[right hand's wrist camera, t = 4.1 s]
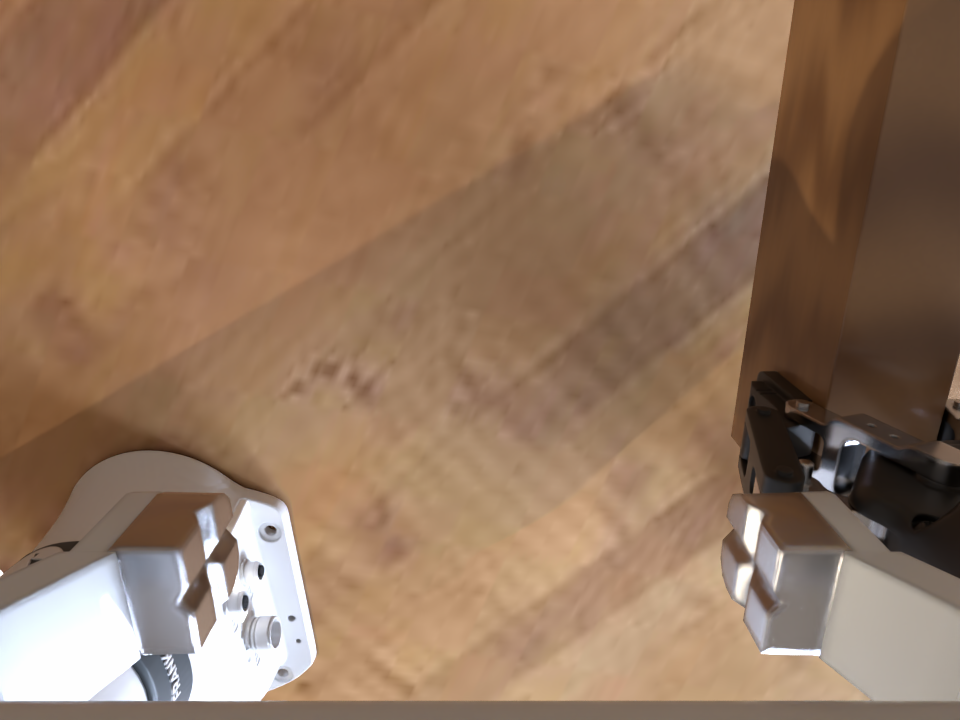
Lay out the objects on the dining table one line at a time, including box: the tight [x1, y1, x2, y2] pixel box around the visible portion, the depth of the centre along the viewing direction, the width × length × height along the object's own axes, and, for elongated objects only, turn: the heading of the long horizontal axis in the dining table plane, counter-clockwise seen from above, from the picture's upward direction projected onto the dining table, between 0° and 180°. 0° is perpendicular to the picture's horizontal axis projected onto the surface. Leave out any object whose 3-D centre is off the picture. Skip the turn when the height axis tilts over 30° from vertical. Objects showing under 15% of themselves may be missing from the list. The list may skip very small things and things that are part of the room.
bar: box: [731, 0, 960, 456], centre depth 25 cm, size 28×5×8 cm, turn 0°
